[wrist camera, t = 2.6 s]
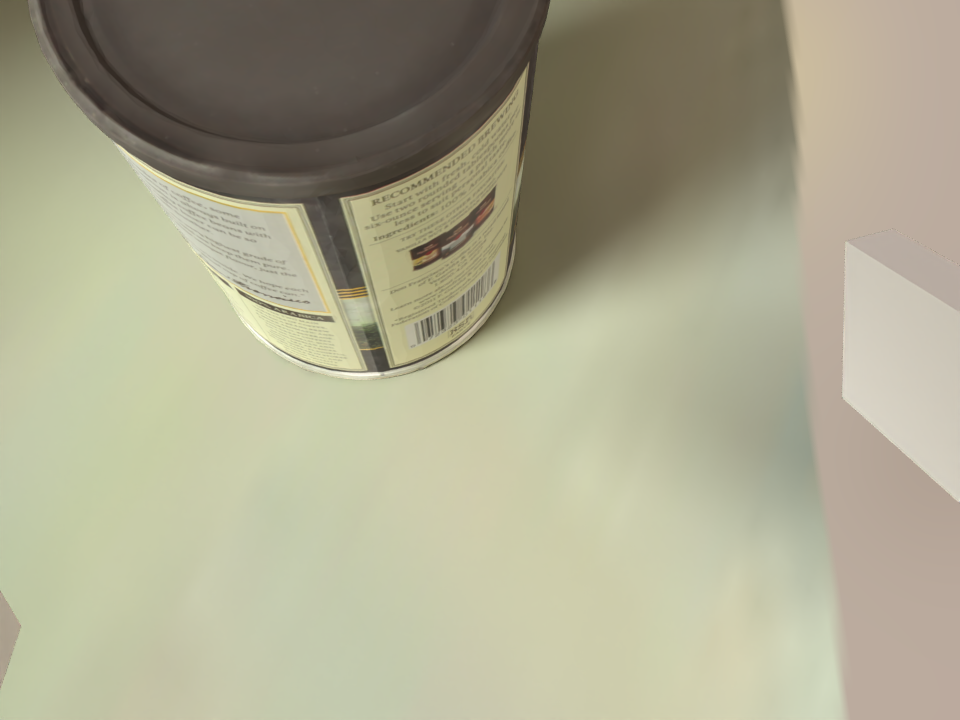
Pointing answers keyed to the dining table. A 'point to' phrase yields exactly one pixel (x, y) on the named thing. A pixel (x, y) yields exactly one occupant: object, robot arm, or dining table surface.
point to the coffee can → (322, 156)
